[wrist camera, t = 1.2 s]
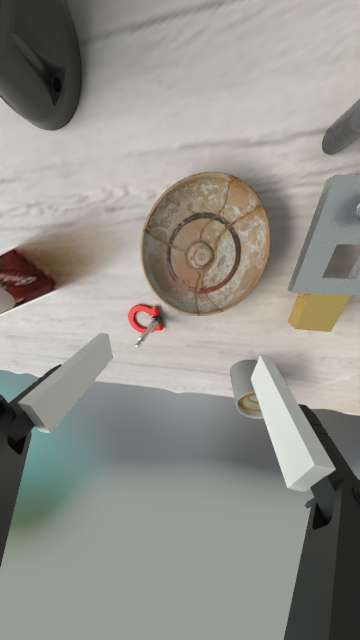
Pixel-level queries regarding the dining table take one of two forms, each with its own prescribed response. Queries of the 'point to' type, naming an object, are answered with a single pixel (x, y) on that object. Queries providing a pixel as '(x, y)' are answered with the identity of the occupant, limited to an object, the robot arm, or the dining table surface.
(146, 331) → the tow hook
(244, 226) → the ceramic bowl
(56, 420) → the robot arm
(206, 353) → the dining table surface
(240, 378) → the coffee mug
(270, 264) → the dining table surface
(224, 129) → the dining table surface
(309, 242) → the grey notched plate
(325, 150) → the pin
